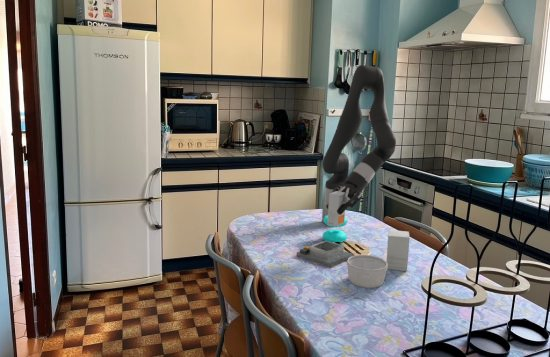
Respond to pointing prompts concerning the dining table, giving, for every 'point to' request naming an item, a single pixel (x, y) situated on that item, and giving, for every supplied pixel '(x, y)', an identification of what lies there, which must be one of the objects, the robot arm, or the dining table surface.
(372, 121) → the robot arm
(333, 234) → the donuts
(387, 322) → the dining table surface
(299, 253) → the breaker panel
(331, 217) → the skincare box
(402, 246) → the supplement box
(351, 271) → the ramekin
